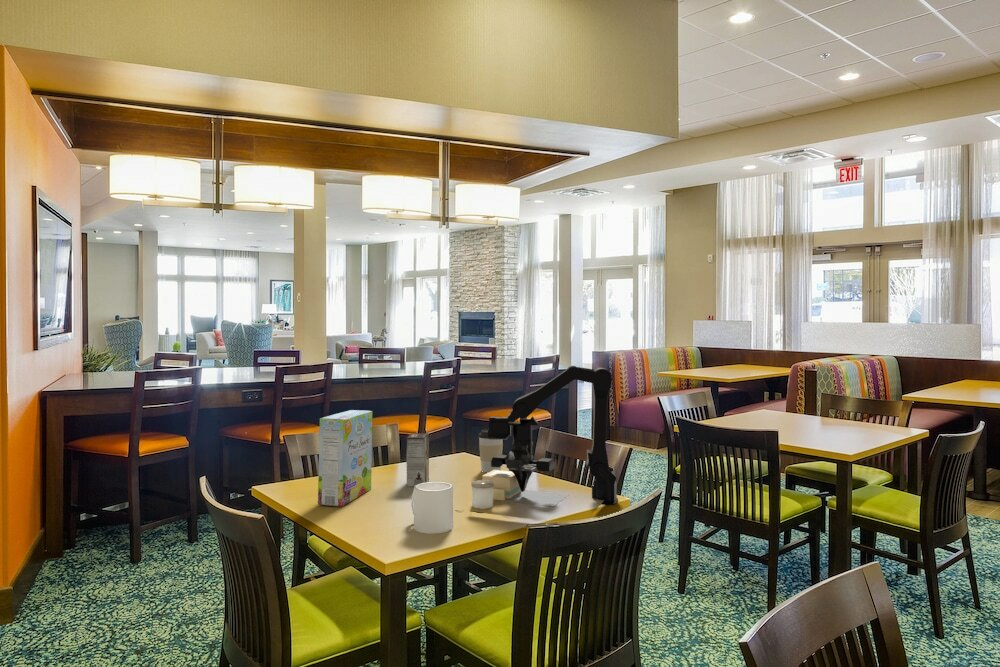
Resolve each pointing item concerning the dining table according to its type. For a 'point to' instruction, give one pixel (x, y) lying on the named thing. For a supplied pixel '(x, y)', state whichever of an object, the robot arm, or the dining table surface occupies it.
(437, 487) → the mug
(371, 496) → the dining table surface
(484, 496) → the sugar jar
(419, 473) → the coffee box
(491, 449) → the coffee cup
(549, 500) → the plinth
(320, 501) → the snack box
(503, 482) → the carton
